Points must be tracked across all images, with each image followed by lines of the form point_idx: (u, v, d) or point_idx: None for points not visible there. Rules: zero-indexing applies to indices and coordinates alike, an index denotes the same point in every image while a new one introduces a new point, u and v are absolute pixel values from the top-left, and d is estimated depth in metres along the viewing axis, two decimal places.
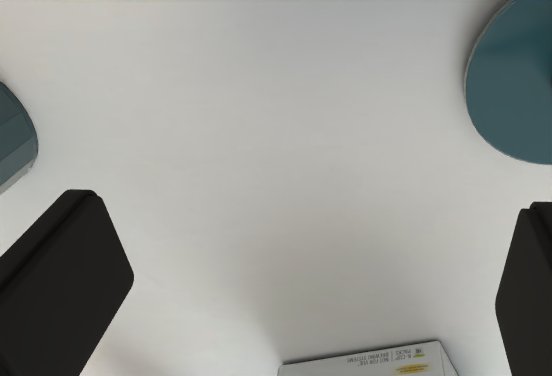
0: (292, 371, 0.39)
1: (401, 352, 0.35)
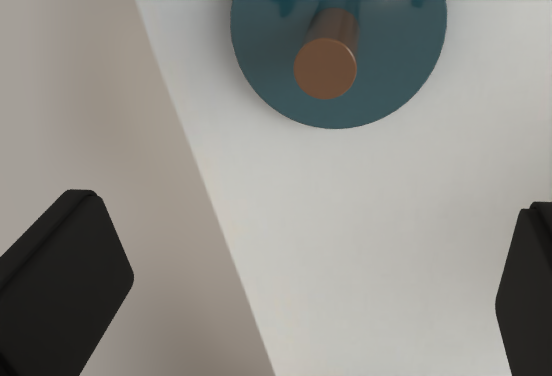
0: None
1: None
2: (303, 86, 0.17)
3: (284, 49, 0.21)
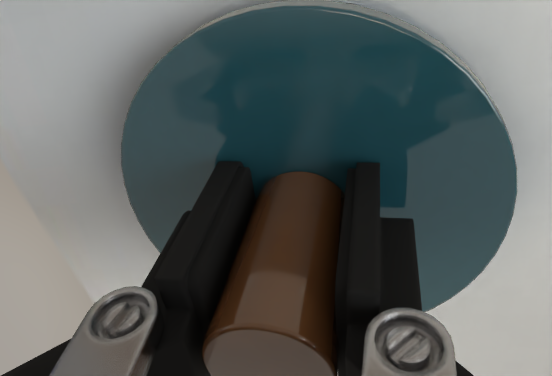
0: None
1: None
2: None
3: None
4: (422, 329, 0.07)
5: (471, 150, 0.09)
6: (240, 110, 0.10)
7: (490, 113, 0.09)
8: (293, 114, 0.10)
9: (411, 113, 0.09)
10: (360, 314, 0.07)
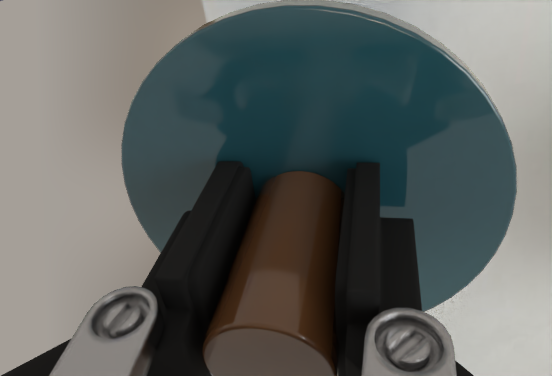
0: None
1: None
2: None
3: None
4: (422, 329, 0.07)
5: (471, 150, 0.09)
6: (240, 110, 0.10)
7: (490, 113, 0.09)
8: (293, 114, 0.10)
9: (411, 113, 0.09)
10: (360, 314, 0.07)
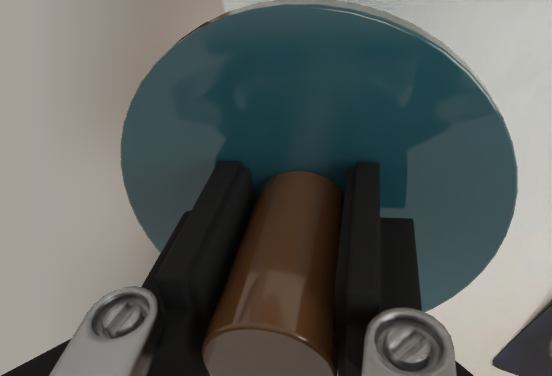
0: None
1: None
2: None
3: None
4: (422, 329, 0.07)
5: (471, 149, 0.09)
6: (240, 109, 0.10)
7: (491, 112, 0.09)
8: (293, 113, 0.10)
9: (411, 112, 0.09)
10: (360, 314, 0.07)
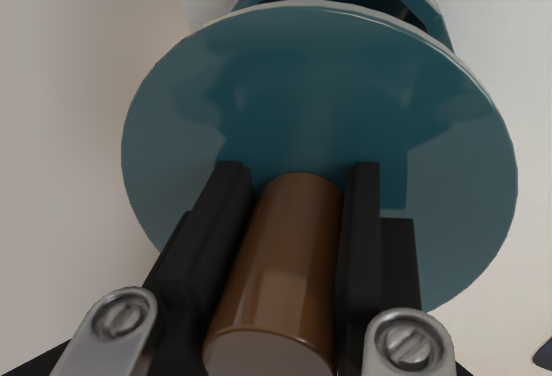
0: None
1: None
2: None
3: None
4: (421, 329, 0.07)
5: (472, 151, 0.09)
6: (240, 110, 0.10)
7: (491, 114, 0.09)
8: (293, 115, 0.10)
9: (411, 114, 0.09)
10: (360, 314, 0.07)
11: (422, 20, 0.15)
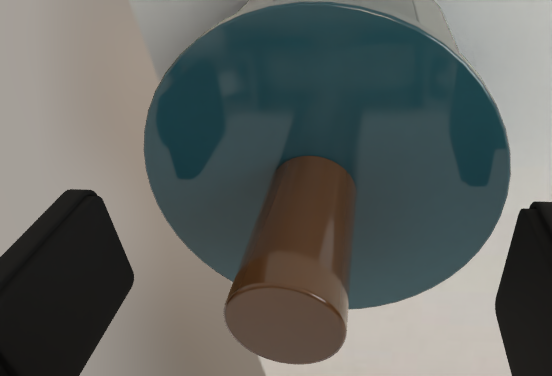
0: None
1: None
2: (245, 343, 0.09)
3: (234, 205, 0.13)
4: None
5: (468, 135, 0.10)
6: (256, 98, 0.11)
7: (485, 100, 0.10)
8: (305, 102, 0.10)
9: (413, 100, 0.10)
10: None
11: None
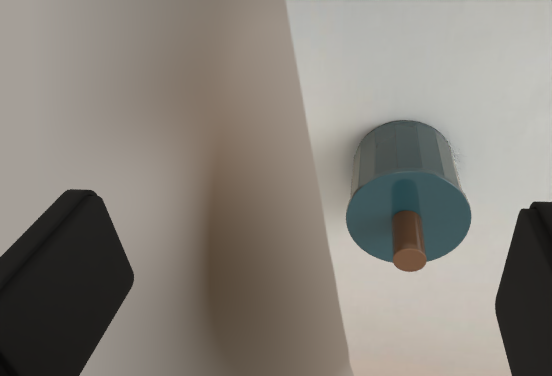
0: None
1: None
2: (397, 265, 0.32)
3: (376, 225, 0.36)
4: None
5: (458, 206, 0.34)
6: (392, 193, 0.34)
7: (463, 197, 0.33)
8: (408, 195, 0.34)
9: (442, 196, 0.33)
10: None
11: None
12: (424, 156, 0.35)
